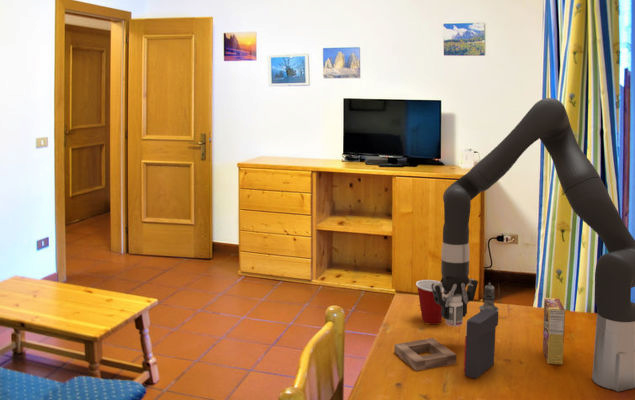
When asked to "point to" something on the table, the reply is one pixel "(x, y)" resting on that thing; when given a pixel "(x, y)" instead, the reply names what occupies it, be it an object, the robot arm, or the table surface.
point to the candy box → (553, 330)
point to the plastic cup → (428, 302)
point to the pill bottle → (455, 311)
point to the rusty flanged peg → (489, 299)
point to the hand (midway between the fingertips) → (454, 317)
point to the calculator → (480, 342)
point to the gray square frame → (436, 359)
